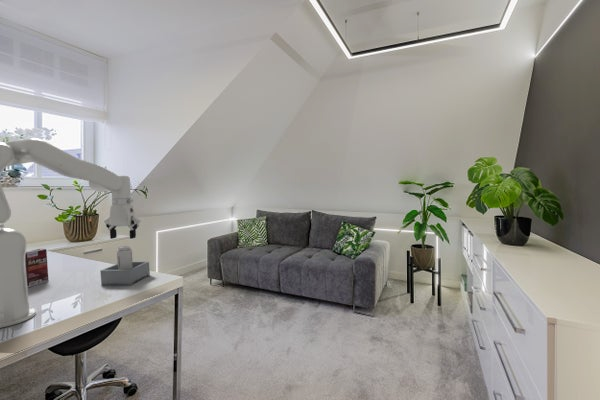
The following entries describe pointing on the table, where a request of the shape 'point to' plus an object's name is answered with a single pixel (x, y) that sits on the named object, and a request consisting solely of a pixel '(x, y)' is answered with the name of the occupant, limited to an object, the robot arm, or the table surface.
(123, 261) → the energy drink can
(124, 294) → the table surface
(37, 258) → the supplement box
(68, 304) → the table surface
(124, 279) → the desk bin
